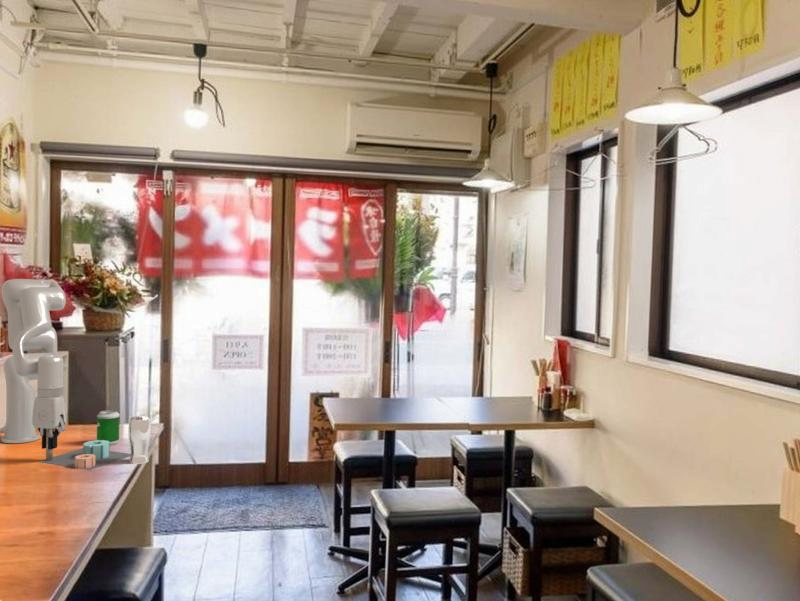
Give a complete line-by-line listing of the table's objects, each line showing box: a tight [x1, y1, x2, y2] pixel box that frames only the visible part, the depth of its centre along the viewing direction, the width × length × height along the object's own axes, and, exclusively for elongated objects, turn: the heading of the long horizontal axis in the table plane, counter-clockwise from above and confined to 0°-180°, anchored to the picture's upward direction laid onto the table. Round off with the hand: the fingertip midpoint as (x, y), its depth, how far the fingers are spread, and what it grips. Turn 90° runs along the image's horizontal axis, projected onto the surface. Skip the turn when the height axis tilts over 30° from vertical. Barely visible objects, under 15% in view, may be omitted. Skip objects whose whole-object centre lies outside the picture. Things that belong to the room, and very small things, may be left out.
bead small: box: [75, 454, 96, 469], centre depth 208 cm, size 6×6×3 cm
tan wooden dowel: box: [45, 428, 54, 461], centre depth 213 cm, size 2×2×12 cm
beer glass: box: [128, 415, 152, 465], centre depth 215 cm, size 7×7×15 cm
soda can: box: [96, 409, 120, 446], centre depth 236 cm, size 8×8×12 cm
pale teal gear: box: [82, 439, 111, 459], centre depth 219 cm, size 8×8×4 cm
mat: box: [37, 447, 131, 471], centre depth 217 cm, size 22×20×1 cm
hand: (49, 447), depth 213 cm, fingers closed on tan wooden dowel, 2 cm apart
